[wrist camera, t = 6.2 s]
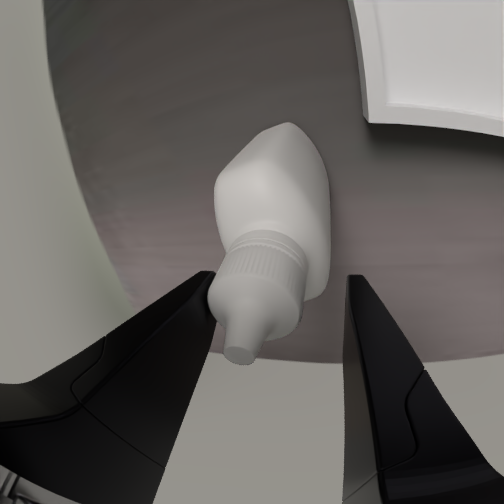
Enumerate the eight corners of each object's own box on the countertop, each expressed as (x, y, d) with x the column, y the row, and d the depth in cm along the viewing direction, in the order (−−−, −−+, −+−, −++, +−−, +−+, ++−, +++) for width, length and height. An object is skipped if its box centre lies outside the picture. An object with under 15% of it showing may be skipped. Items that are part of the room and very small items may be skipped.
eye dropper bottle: (252, 209, 18) (167, 387, 8) (259, 117, 14) (122, 227, 5) (324, 221, 17) (309, 420, 7) (341, 129, 14) (385, 275, 4)
